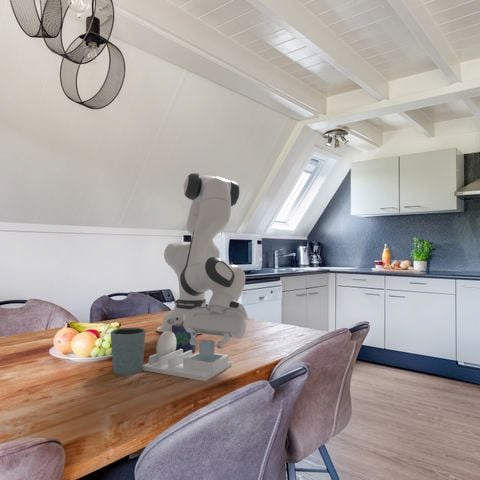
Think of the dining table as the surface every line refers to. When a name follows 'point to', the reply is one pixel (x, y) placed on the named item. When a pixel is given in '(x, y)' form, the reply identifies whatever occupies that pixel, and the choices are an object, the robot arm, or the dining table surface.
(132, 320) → the dining table surface
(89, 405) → the dining table surface
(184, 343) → the blue printed box
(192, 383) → the dining table surface
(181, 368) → the rack
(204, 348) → the grey upright block
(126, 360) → the green cup
